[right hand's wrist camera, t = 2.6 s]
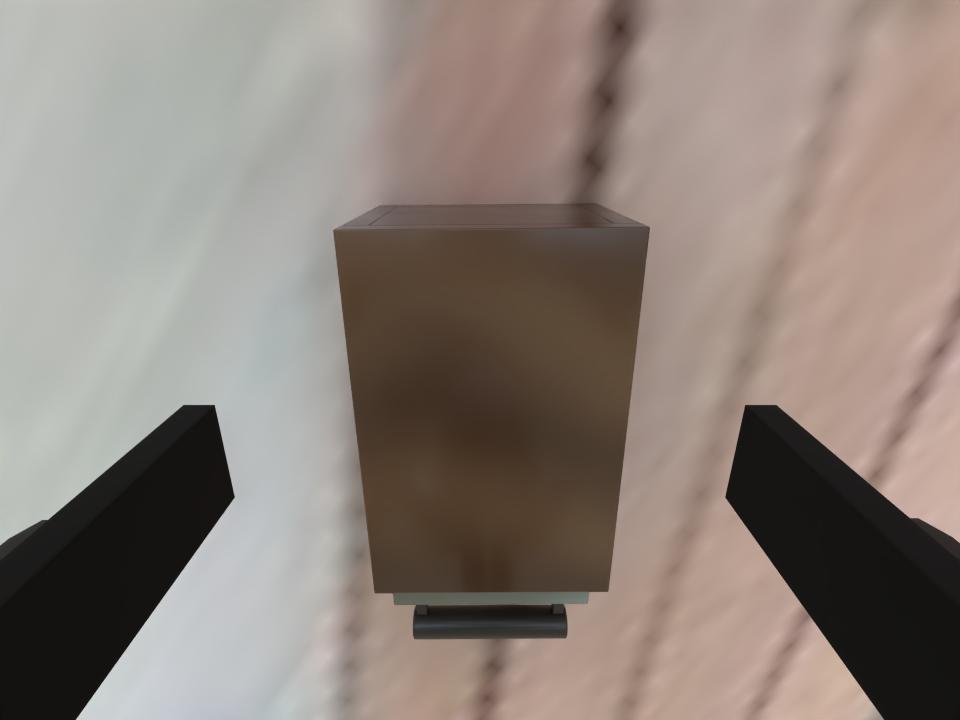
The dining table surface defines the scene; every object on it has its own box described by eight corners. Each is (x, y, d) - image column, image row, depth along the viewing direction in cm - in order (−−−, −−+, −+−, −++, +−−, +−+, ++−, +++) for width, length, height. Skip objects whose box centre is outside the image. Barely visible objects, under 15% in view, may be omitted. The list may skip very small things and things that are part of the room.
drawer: (562, 587, 33) (580, 683, 27) (415, 588, 33) (401, 684, 27) (584, 271, 25) (616, 307, 19) (392, 272, 25) (365, 310, 19)
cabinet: (576, 481, 31) (608, 592, 23) (400, 482, 31) (374, 593, 23) (597, 203, 25) (650, 227, 17) (378, 205, 25) (332, 229, 17)
